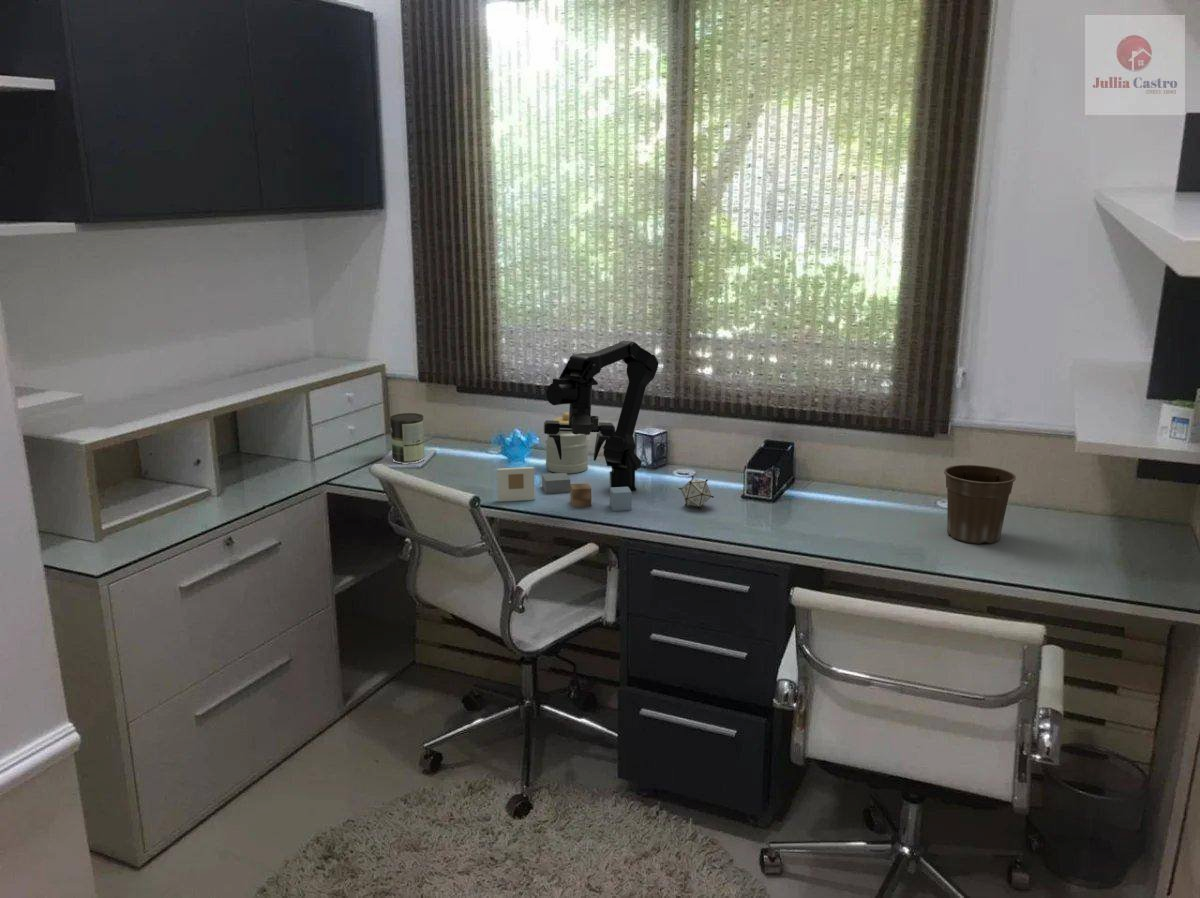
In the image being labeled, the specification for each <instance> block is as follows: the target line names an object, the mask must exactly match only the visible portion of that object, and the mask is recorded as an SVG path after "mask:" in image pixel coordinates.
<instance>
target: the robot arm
mask: <svg viewBox="0 0 1200 898" xmlns="http://www.w3.org/2000/svg"><path fill="white" fill-rule="evenodd" d="M621 360H622V362H623V363H624V364H626V375H627V379H628V384H627V387H626V392H625V396H624V400H623V402H622V406H621V409H620V413H619V418H618V422H617V424H616V426H615V425H614V424H613V423H612V422H606V421H605V422H603V421H599V419H600V418H599V416H598V415H592V414H591V413H592V411H591V410H592V397H593V396H592V394H593V386H597V385H598V384H599V382H598V381H597V380H596V379H595V378H594V377H595V376H597V375H598V374H600V372H602V369H603V368H604V367H607V366H610V365H611V364H615V363H617V362H620V361H621ZM658 368H659V361H658V358H657V356H655V354H652V353H650V352H649V351H648V350H646V349H644V348H642V347H641V346H639V344H638V343H636V342H634V341H632V340H620V341H619V342H617V343H615V344H612V345H609V346H607V347H604V348H602V349H599V350H597V351H594V352H585V353H584V352H583V353H582V352H581V353H574V354H572V355H570V356H569V360H568V361H567V363H566V365H565V366H564V368H563V370H562V372H561V374H560V375H559V377H558V378H557V377H556V378H553V379H552V383H551V384H549V386H548V387H547V389H546V391H545V392H546V393H545V394H546V395H545V396H546V399H547V402H548V403H550V405H552V406H559V405H569V410H568V412H569V424H559V421H552V420H545V421H544V422H543V434H545V435H547V434H549V437H553V439H554V441H555V444H556V447H557V450H558V454H559V458H560V460H561V457H562V453H561V441H560V433H559V432H560V431H572V433H573V434H575V435H578V434H585V435H586V436H589V435H591V433H596V437H595V444H594V451H593V461H595V462H596V460H597V458H598V455H599V453H600V452H601V451H600V450H601V448H602V450H603V452H602V454H603V457H604V460H605V464H606V466H607V467H611V471H609V486H610V488H611V487H629V489H630V490H631V491H637V487H636V471H638V470H639V469H640V467H641V463H642V460H641V459H640V458H639V457H638V456H637V454H636V453H635V452H636V451H635V450H636V442H635V439H634V432H635V428H636V425H637V421H638V417H639V415H640V410H641V408H642V402H643V399H644V396H645V395H644V394H645V393H646V392H645V391H646V389H647V388H646V387H647V386H648V385H649V384H650V383H651V382H652V381H653V380H654V379H655V376H656V373H657V370H658ZM603 444H604V445H603ZM602 446H603V447H602Z"/></svg>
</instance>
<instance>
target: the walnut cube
mask: <svg viewBox="0 0 1200 898" xmlns="http://www.w3.org/2000/svg"><path fill="white" fill-rule="evenodd" d="M569 493H570V496H569V497H570V501H569V502H570V504H571V506H572V508H579V507H592V487H591V485H590V484H589V483H588V482H587V483H586V482H585V483H583V482H582V483H570V492H569Z"/></svg>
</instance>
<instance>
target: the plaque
mask: <svg viewBox="0 0 1200 898" xmlns="http://www.w3.org/2000/svg"><path fill="white" fill-rule="evenodd" d="M496 479H497V480H496V481H497V482H496V483H497V485H496V486H497V502H517V501H535V499H536V497H535V493H536V492H535V491H536V490H535V467H534V466H530V467H529V466H528V467H524V466H523V467H506V468H502V467H501V468H496Z"/></svg>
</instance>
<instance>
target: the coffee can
mask: <svg viewBox="0 0 1200 898" xmlns="http://www.w3.org/2000/svg"><path fill="white" fill-rule="evenodd" d="M389 420H390V421H389V423H390V438H391V439H390V441H391V457H392V458H393V459H394V460H395V461H397V462H401V463H412V462H416V461H419V460H421V459H423V458H424V457H425V458H426V455H425V453H426V452H425V438H424V437H425V435H424V432H425V431H424V415H423V414H421V413H414V412H408V413H406V412H405V413H397V414H393V415H391V416H389ZM392 458H391V459H392Z"/></svg>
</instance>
